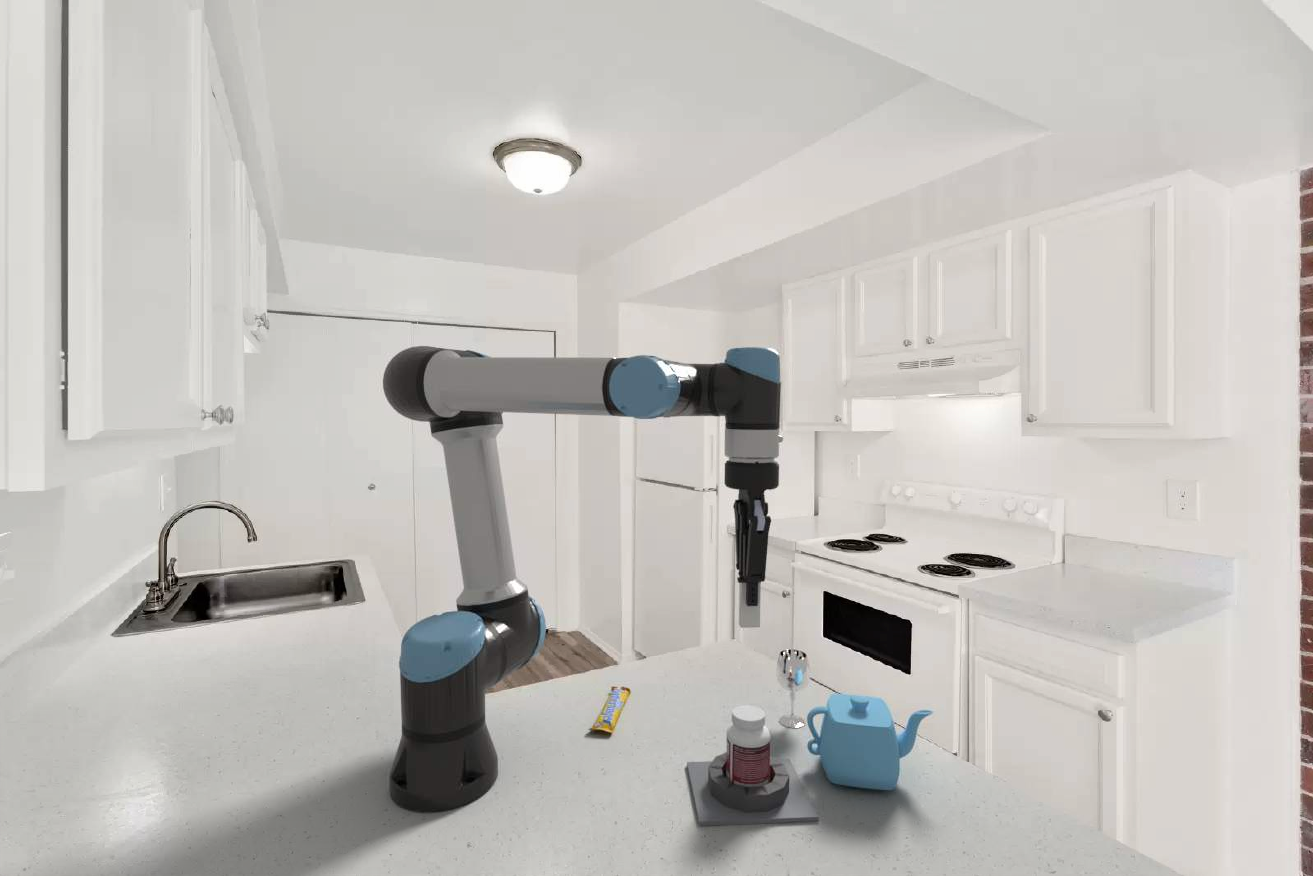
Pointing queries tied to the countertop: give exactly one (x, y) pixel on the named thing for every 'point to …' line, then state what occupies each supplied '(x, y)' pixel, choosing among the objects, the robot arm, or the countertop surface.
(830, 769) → the teapot
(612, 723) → the candy bar
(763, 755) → the pill bottle
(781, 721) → the wineglass
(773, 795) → the grey ring base plate
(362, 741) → the countertop surface
